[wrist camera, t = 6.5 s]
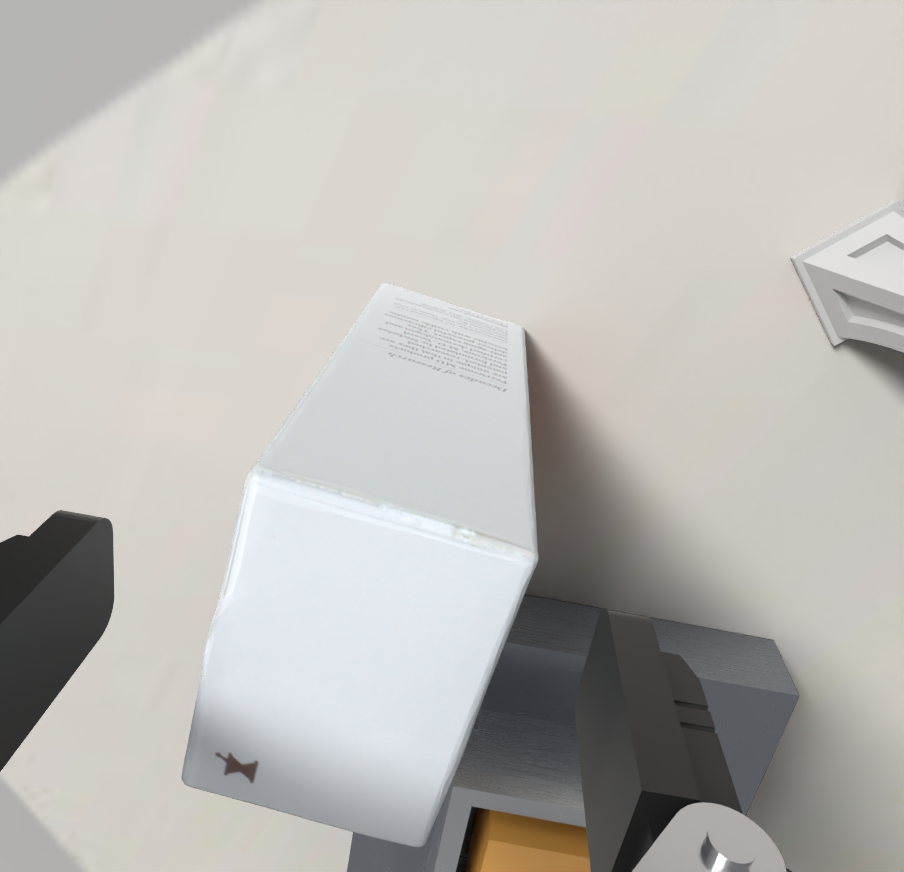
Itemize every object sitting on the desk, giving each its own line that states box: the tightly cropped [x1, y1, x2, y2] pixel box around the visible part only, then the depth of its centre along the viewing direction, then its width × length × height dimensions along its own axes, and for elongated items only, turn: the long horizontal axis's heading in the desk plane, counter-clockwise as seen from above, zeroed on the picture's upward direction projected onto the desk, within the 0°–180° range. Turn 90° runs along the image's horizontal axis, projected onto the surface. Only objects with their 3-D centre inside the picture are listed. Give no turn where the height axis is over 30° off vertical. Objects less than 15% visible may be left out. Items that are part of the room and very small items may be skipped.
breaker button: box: [467, 808, 591, 872], centre depth 23 cm, size 4×4×3 cm
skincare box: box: [182, 283, 539, 847], centre depth 17 cm, size 6×4×12 cm
